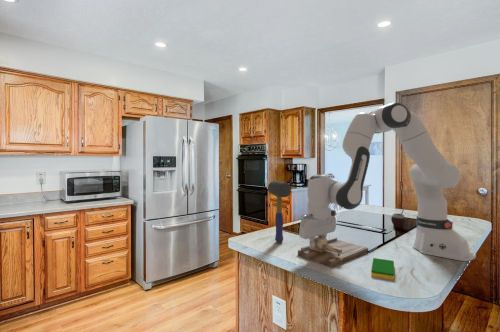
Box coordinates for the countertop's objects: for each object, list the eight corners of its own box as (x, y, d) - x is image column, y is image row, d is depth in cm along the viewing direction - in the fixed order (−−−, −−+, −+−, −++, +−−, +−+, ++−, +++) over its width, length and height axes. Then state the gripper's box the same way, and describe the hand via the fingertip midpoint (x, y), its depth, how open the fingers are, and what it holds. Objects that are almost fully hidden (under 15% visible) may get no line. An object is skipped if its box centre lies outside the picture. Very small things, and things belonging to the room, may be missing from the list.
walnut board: (370, 253, 120) (370, 245, 120) (333, 268, 104) (333, 259, 104) (334, 243, 134) (334, 236, 134) (297, 255, 118) (297, 247, 118)
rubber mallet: (292, 245, 131) (292, 181, 130) (278, 247, 129) (278, 182, 128) (279, 238, 143) (279, 179, 142) (266, 239, 140) (266, 180, 139)
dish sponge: (393, 266, 106) (393, 260, 106) (394, 281, 94) (394, 274, 94) (373, 263, 109) (373, 257, 109) (371, 277, 97) (371, 270, 97)
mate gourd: (388, 227, 164) (388, 202, 163) (397, 226, 167) (398, 201, 166) (400, 230, 157) (400, 204, 156) (409, 228, 160) (409, 202, 160)
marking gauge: (343, 255, 111) (343, 243, 110) (337, 258, 108) (337, 245, 108) (315, 247, 122) (315, 235, 121) (309, 248, 119) (309, 237, 119)
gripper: (307, 217, 109) (307, 252, 109) (338, 211, 121) (338, 242, 122) (295, 214, 114) (295, 248, 114) (326, 208, 126) (326, 239, 127)
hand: (318, 245), depth 118 cm, fingers closed on marking gauge, 4 cm apart
